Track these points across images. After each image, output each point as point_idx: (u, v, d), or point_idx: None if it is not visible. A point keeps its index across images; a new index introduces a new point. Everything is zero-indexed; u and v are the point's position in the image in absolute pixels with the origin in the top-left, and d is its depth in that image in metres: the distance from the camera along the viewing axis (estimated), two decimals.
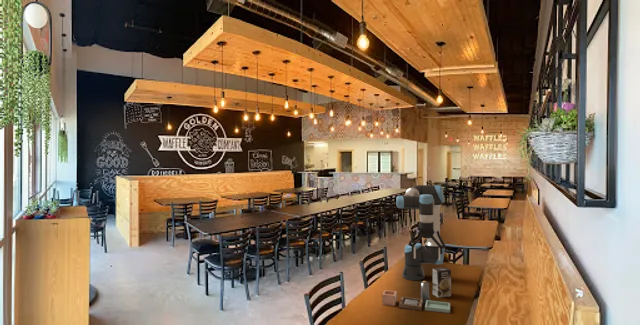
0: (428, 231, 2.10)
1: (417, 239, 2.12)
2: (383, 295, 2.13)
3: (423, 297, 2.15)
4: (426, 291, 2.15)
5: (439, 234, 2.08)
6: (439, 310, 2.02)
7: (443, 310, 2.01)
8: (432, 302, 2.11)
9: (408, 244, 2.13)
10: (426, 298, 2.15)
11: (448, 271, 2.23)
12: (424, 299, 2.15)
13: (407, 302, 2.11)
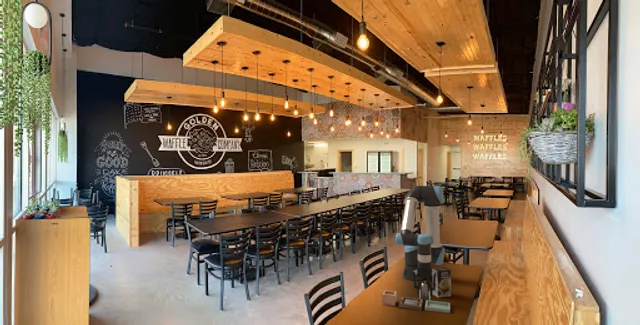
0: (427, 269, 2.15)
1: (419, 280, 2.16)
2: (383, 295, 2.13)
3: (423, 297, 2.15)
4: (426, 291, 2.15)
5: (435, 276, 2.14)
6: (439, 310, 2.02)
7: (443, 310, 2.01)
8: (432, 302, 2.11)
9: (414, 287, 2.18)
10: (426, 298, 2.15)
11: (448, 271, 2.23)
12: (424, 299, 2.15)
13: (407, 302, 2.11)
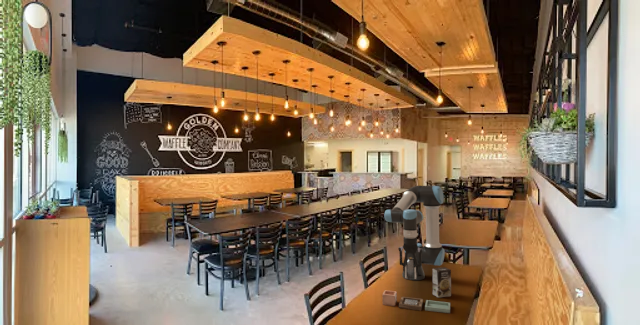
0: (412, 245, 2.10)
1: (405, 257, 2.11)
2: (383, 295, 2.13)
3: (409, 274, 2.10)
4: (412, 267, 2.09)
5: (421, 252, 2.08)
6: (439, 310, 2.02)
7: (443, 310, 2.01)
8: (432, 302, 2.11)
9: None
10: (412, 275, 2.09)
11: (448, 271, 2.23)
12: (410, 276, 2.10)
13: (407, 302, 2.11)
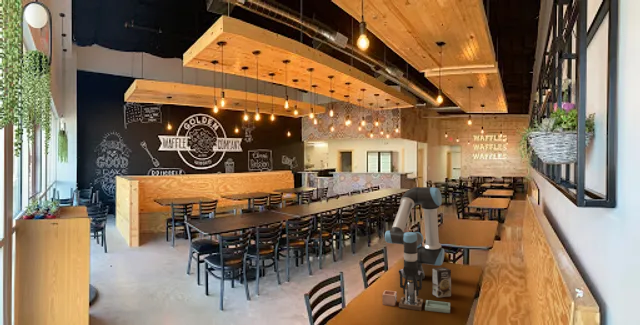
0: (413, 268, 2.10)
1: (405, 280, 2.11)
2: (383, 295, 2.13)
3: (409, 297, 2.10)
4: (412, 290, 2.10)
5: (421, 276, 2.09)
6: (439, 310, 2.02)
7: (443, 310, 2.01)
8: (432, 302, 2.11)
9: (400, 286, 2.12)
10: (412, 298, 2.10)
11: (448, 271, 2.23)
12: (410, 299, 2.10)
13: (407, 302, 2.11)
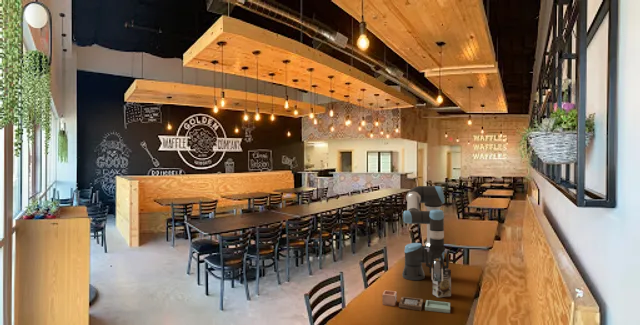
0: (439, 246, 2.05)
1: (431, 258, 2.06)
2: (383, 295, 2.13)
3: (435, 275, 2.05)
4: (439, 269, 2.04)
5: (448, 254, 2.03)
6: (439, 310, 2.02)
7: (443, 310, 2.01)
8: (432, 302, 2.11)
9: (426, 265, 2.07)
10: (439, 276, 2.04)
11: (448, 271, 2.23)
12: (436, 277, 2.04)
13: (407, 302, 2.11)
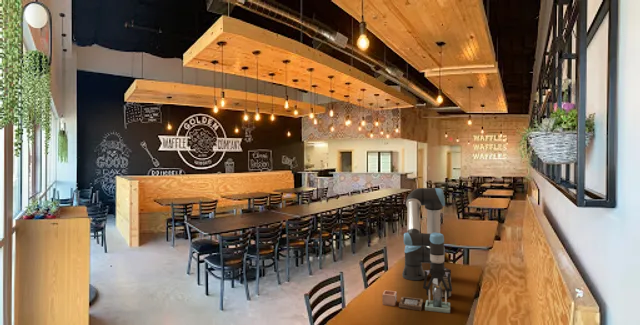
0: (439, 270, 2.05)
1: (430, 281, 2.07)
2: (383, 295, 2.13)
3: (436, 303, 2.05)
4: (439, 296, 2.04)
5: (449, 277, 2.03)
6: (439, 310, 2.02)
7: (443, 310, 2.01)
8: (432, 302, 2.11)
9: (423, 287, 2.08)
10: (439, 304, 2.05)
11: (448, 271, 2.24)
12: (437, 305, 2.05)
13: (407, 302, 2.11)
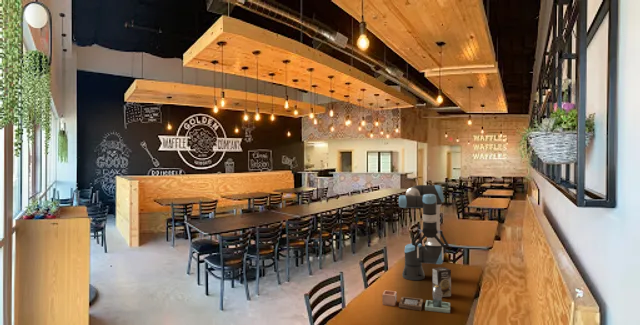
0: (431, 231, 2.11)
1: (420, 239, 2.13)
2: (383, 295, 2.13)
3: (435, 302, 2.05)
4: (439, 296, 2.05)
5: (442, 234, 2.09)
6: (439, 310, 2.02)
7: (443, 310, 2.01)
8: (432, 302, 2.11)
9: (411, 244, 2.15)
10: (439, 303, 2.05)
11: (448, 271, 2.24)
12: (437, 305, 2.05)
13: (407, 302, 2.11)
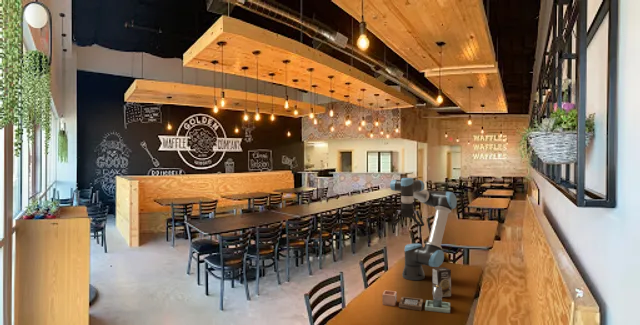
0: (408, 211, 2.31)
1: (399, 218, 2.33)
2: (383, 295, 2.13)
3: (436, 302, 2.05)
4: (439, 296, 2.05)
5: (418, 213, 2.29)
6: (439, 310, 2.02)
7: (443, 310, 2.01)
8: (432, 302, 2.11)
9: (391, 223, 2.35)
10: (439, 303, 2.05)
11: (448, 271, 2.24)
12: (437, 304, 2.05)
13: (407, 302, 2.11)
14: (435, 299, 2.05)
